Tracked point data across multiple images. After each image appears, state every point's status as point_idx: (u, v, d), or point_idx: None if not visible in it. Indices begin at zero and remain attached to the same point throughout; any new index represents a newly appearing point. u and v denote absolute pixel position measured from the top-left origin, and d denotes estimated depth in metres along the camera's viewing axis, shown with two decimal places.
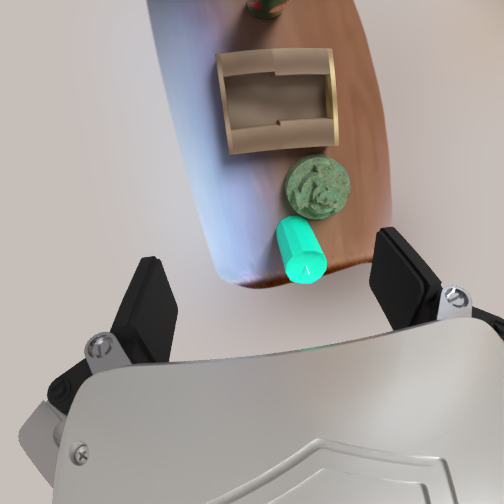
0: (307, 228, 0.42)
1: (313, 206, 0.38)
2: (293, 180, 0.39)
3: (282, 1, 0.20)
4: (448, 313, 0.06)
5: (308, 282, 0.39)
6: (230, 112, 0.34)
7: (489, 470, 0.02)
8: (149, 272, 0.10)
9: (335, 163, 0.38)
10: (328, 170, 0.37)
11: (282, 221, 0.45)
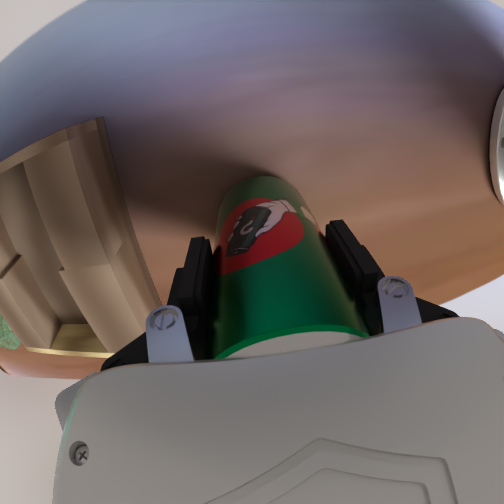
0: None
1: None
2: None
3: None
4: (392, 306, 0.07)
5: None
6: (5, 173, 0.12)
7: (489, 470, 0.02)
8: (202, 250, 0.11)
9: (15, 336, 0.19)
10: None
11: None
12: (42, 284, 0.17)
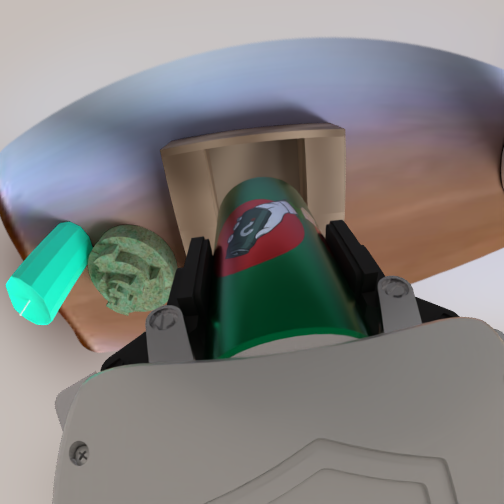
0: (78, 273, 0.25)
1: (102, 282, 0.24)
2: (131, 244, 0.25)
3: None
4: (392, 306, 0.07)
5: (14, 305, 0.19)
6: None
7: (489, 470, 0.02)
8: (202, 250, 0.11)
9: (168, 293, 0.28)
10: (157, 291, 0.26)
11: (79, 230, 0.26)
12: None
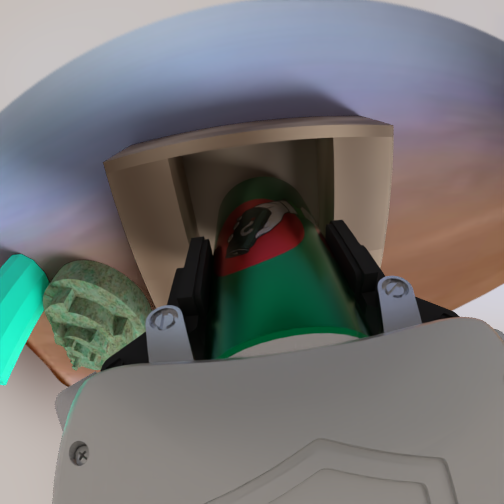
0: (33, 320, 0.17)
1: (57, 336, 0.16)
2: (86, 288, 0.17)
3: None
4: (392, 306, 0.07)
5: None
6: None
7: (489, 470, 0.02)
8: (202, 250, 0.11)
9: None
10: None
11: (31, 265, 0.18)
12: None
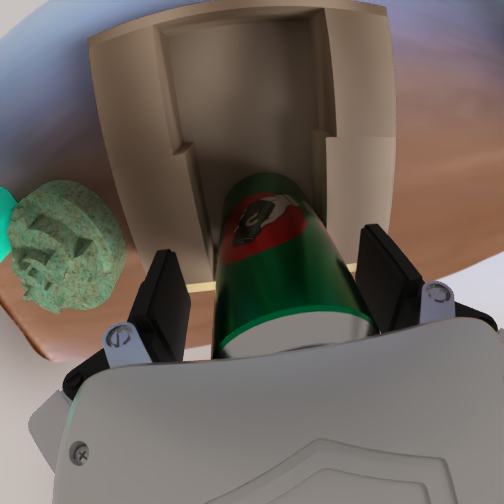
0: None
1: (14, 262, 0.13)
2: (52, 203, 0.14)
3: None
4: (431, 309, 0.07)
5: None
6: (211, 30, 0.11)
7: (489, 470, 0.02)
8: (165, 264, 0.10)
9: (109, 282, 0.17)
10: (86, 277, 0.15)
11: (5, 194, 0.15)
12: (213, 187, 0.16)
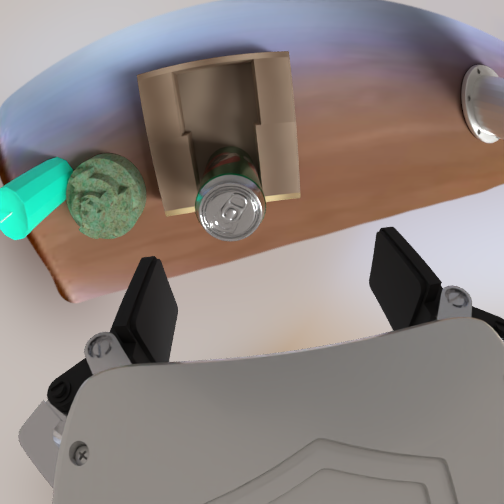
0: (59, 198, 0.25)
1: (76, 198, 0.24)
2: (104, 164, 0.25)
3: None
4: (448, 313, 0.06)
5: None
6: (199, 71, 0.23)
7: (489, 470, 0.02)
8: (149, 272, 0.10)
9: (135, 214, 0.29)
10: (124, 207, 0.27)
11: (64, 162, 0.26)
12: (201, 156, 0.28)
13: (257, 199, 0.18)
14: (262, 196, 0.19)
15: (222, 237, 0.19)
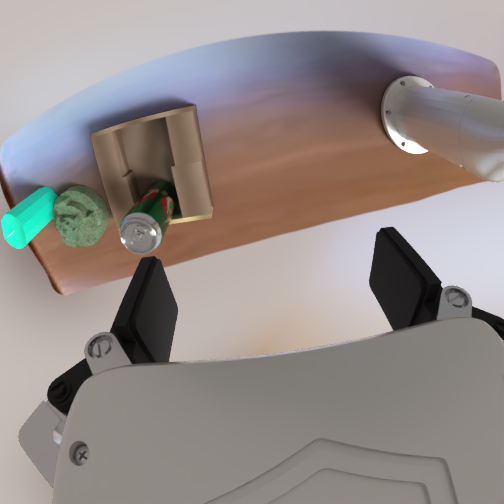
0: (48, 218, 0.35)
1: (58, 220, 0.34)
2: (76, 195, 0.35)
3: None
4: (448, 313, 0.06)
5: (4, 236, 0.28)
6: (135, 125, 0.32)
7: (489, 470, 0.02)
8: (149, 272, 0.10)
9: (100, 230, 0.38)
10: (90, 226, 0.36)
11: (51, 191, 0.35)
12: (142, 187, 0.37)
13: (151, 228, 0.27)
14: (157, 225, 0.28)
15: (136, 252, 0.28)
